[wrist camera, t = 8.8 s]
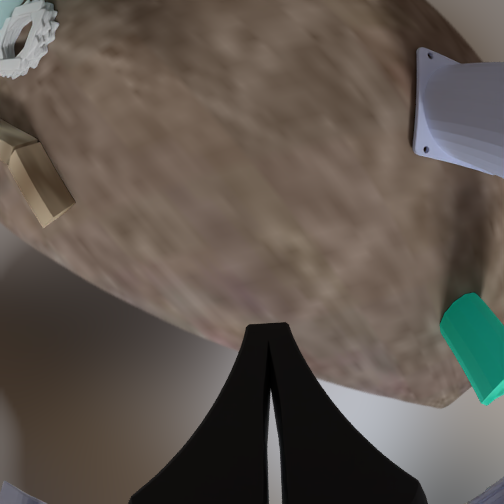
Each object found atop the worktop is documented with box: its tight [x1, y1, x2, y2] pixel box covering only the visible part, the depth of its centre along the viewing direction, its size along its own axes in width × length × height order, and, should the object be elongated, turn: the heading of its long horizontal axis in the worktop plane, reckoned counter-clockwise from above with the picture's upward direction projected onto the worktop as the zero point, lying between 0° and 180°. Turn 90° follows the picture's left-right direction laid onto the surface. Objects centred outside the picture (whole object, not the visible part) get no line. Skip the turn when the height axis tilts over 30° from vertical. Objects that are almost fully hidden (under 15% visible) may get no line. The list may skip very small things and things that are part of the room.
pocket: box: [0, 119, 76, 228], centre depth 10 cm, size 21×23×3 cm
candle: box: [440, 292, 504, 406], centre depth 18 cm, size 6×6×12 cm
